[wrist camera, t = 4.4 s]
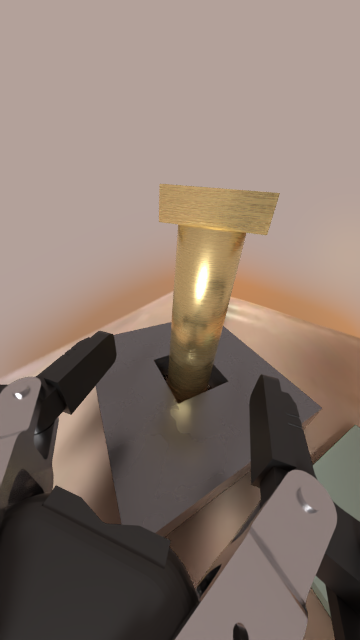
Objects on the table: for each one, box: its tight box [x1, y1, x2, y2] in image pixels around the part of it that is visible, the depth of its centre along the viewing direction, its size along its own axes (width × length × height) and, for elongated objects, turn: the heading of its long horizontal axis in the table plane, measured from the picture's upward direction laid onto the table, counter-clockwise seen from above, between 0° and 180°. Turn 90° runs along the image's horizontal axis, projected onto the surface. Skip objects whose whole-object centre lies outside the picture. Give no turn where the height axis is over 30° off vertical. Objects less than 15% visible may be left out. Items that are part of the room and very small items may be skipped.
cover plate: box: [96, 322, 322, 537], centre depth 18 cm, size 16×16×3 cm
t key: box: [159, 184, 280, 404], centre depth 14 cm, size 6×4×17 cm, turn 73°
